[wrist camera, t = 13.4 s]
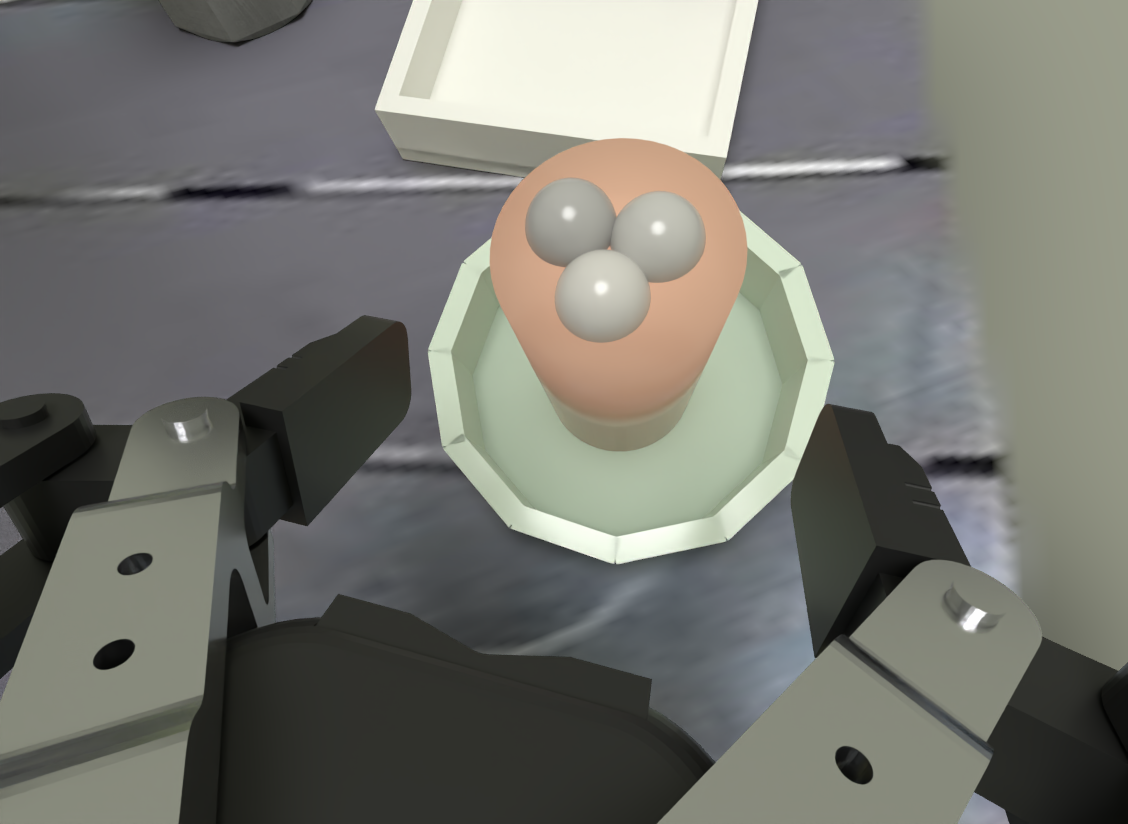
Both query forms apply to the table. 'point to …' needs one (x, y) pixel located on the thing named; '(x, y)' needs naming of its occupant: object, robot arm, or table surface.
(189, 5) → the coffeepot
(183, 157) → the table surface
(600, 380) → the pebble pot
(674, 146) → the parts tray
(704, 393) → the sage bowl
